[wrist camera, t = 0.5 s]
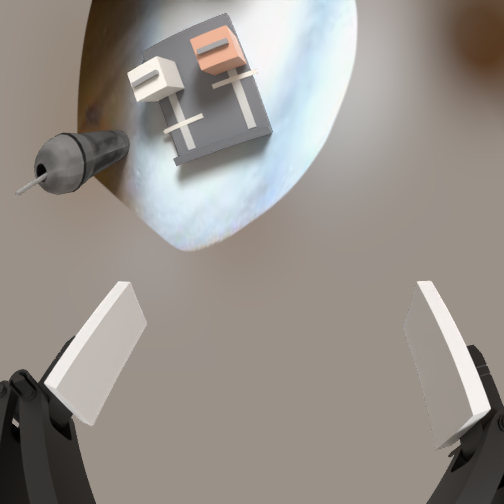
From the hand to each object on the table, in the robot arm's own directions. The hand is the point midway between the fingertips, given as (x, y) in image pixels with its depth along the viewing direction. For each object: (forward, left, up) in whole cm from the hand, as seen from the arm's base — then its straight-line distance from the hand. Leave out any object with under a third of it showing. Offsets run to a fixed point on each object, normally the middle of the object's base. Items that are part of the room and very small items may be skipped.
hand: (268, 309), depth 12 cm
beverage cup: (-12, -22, -26) cm, 36 cm away
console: (-14, -6, -26) cm, 30 cm away
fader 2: (-17, -2, -24) cm, 29 cm away
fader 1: (-17, -10, -24) cm, 31 cm away
